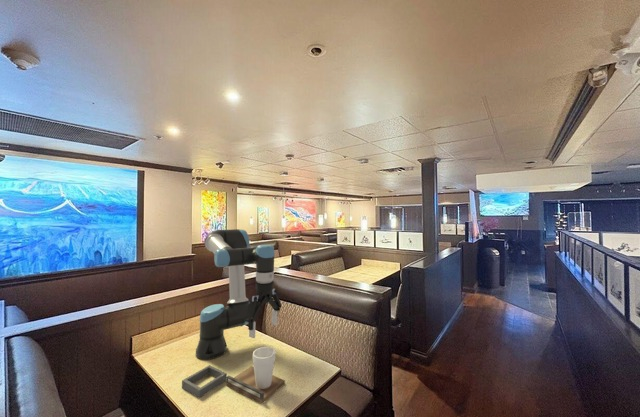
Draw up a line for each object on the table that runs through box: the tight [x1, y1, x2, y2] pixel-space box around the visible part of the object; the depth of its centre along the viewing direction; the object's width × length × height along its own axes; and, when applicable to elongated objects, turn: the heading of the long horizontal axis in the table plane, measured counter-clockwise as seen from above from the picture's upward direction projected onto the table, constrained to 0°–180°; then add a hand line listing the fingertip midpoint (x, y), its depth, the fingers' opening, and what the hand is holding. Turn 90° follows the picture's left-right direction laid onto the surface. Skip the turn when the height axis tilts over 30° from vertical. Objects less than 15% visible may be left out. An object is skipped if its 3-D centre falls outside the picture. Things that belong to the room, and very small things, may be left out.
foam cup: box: [252, 346, 276, 389], centre depth 109 cm, size 10×9×13 cm
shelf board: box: [226, 365, 286, 405], centre depth 110 cm, size 20×14×4 cm
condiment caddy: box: [181, 365, 228, 399], centre depth 110 cm, size 12×13×3 cm
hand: (263, 330), depth 111 cm, fingers open, 13 cm apart
